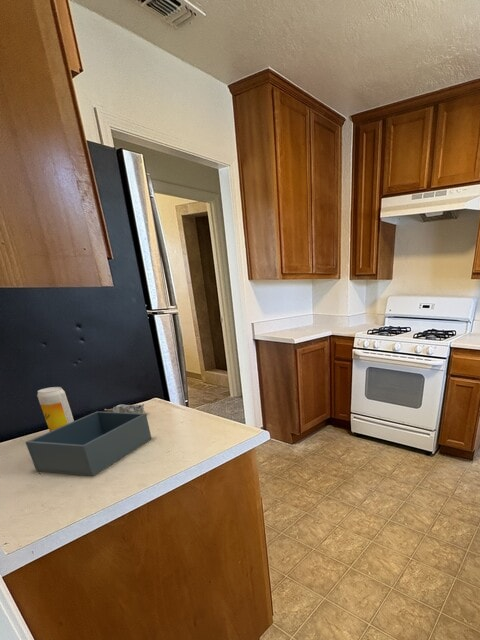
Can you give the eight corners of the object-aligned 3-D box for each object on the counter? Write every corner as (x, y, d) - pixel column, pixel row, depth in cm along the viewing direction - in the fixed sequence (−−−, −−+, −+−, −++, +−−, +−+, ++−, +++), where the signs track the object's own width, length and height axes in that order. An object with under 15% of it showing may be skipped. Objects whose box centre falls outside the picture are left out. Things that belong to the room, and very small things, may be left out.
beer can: (60, 437, 103) (43, 387, 97) (83, 435, 104) (67, 385, 98) (49, 445, 97) (30, 393, 91) (73, 443, 98) (56, 391, 92)
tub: (36, 471, 84) (25, 442, 81) (104, 435, 103) (97, 411, 100) (93, 476, 81) (83, 446, 78) (151, 438, 101) (146, 413, 98)
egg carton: (105, 421, 115) (101, 409, 113) (118, 413, 122) (115, 402, 120) (136, 421, 114) (133, 409, 113) (148, 413, 121) (145, 401, 120)
